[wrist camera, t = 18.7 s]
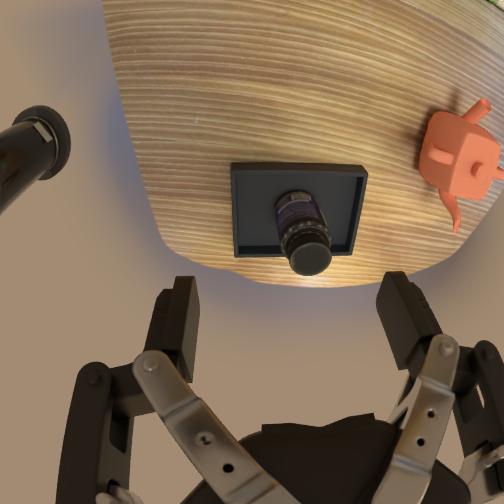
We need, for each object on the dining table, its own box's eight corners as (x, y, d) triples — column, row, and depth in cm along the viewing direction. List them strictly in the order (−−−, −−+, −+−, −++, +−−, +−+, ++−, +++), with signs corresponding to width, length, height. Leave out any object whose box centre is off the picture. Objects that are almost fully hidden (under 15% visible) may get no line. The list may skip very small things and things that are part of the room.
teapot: (392, 117, 34) (432, 142, 26) (457, 84, 30) (504, 103, 22) (423, 198, 42) (456, 237, 34) (479, 166, 38) (517, 198, 30)
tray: (234, 246, 46) (234, 257, 44) (231, 162, 38) (230, 170, 36) (347, 245, 47) (351, 255, 44) (362, 165, 38) (368, 173, 36)
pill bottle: (264, 213, 42) (270, 266, 33) (292, 180, 39) (307, 226, 30) (299, 234, 44) (313, 288, 36) (327, 204, 41) (349, 253, 33)
